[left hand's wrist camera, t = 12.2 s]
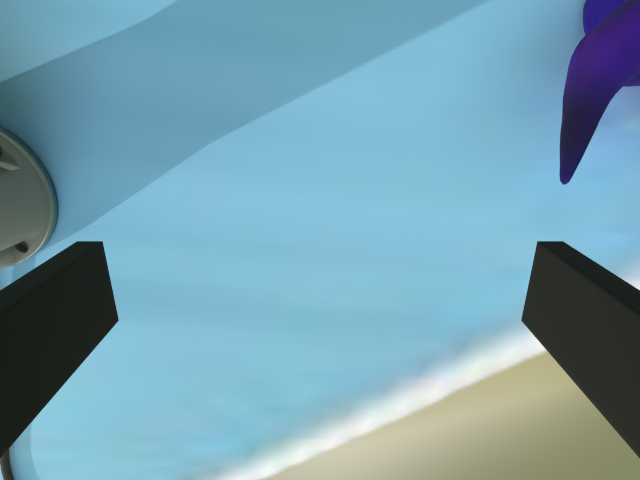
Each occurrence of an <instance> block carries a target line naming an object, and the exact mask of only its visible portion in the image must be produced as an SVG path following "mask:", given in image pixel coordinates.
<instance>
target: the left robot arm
mask: <svg viewBox="0 0 640 480" xmlns="http://www.w3.org/2000/svg"><path fill="white" fill-rule="evenodd" d="M57 211H58V208H57V199H56V194H55V190H54V187H53V184H52V182H51V179H50V177H49V175H48V173H47V171H46V170H45V168H44V166H43V165H42V163H41V162H40V160H39V159H38V158H37V157H36V155H35V154H34V153H33V152H32V151H31V150H30V149H29V148H28V147H27V146H26V145H25V144H24V143H23V142H22V141H21V140H20V139H18V138H17V137H16V136H14V135H13V134H12V133H10V132H8V131H7V130H5V129H4V128H2V127H0V269H3V268H7V267H9V266H12V265H15V264H18V263H20V262H22V261H24V260H26V259H28V258H29V257H31V256H33V255H34V254H36V253H37V252H38V251H40V250H41V249H42V248H43V247H44V246H45V245H46V244H47V242H48V241H49V239H50V238H51V236H52V234H53V232H54V229H55V226H56V222H57ZM118 321H119V320H118V315H117V310H116V305H115V300H114V295H113V291H112V286H111V281H110V276H109V271H108V266H107V261H106V256H105V252H104V247H103V242H102V241H77V242H75V243H74V244H72V245H71V246H69V247H68V248H66V249H65V250H63V251H61V252H60V253H58V254H57V255H55V256H54V257H52V258H50V259H49V260H47V261H46V262H44V263H43V264H41V265H40V266H38V267H36V268H35V269H33V270H32V271H30V272H29V273H27V274H25V275H24V276H22V277H21V278H19V279H18V280H16V281H15V282H13V283H11V284H10V285H8V286H7V287H5V288H4V289H2V290H0V465H1V471H2V475H3V479H4V480H14V479H13V475H12V471H11V467H10V462H9V447H10V446H11V445H12V444H13V443H14V442H15V440H16V439H17V438H18V437H19V436H20V435H21V433H22V432H23V431H24V430H25V429H26V428H27V426H28V425H29V424H30V423H31V422H32V421H33V420H34V418H35V417H36V416H37V415H38V414H39V413H40V411H41V410H42V409H43V408H44V407H45V406H46V404H47V403H48V402H49V401H50V400H51V399H52V397H53V396H54V395H55V394H56V393H57V392H58V390H59V389H60V388H61V387H62V386H63V385H64V383H65V382H66V381H67V380H68V379H69V378H70V376H71V375H72V374H73V373H74V372H75V371H76V369H77V368H78V367H79V366H80V365H81V364H82V362H83V361H84V360H85V359H86V358H87V357H88V356H89V354H90V353H91V352H92V351H93V350H94V349H95V347H96V346H97V345H98V344H99V343H100V342H101V340H102V339H103V338H104V337H105V336H106V335H107V333H108V332H109V331H110V330H111V329H112V328H113V326H114V325H115V324H116V323H117V322H118ZM521 321H522V322H523V323H524V324H525V325H526V326H527V328H528V329H529V330H530V331H531V332H532V333H533V335H534V336H535V337H536V338H537V339H538V340H539V342H540V343H541V344H542V345H543V346H544V347H545V349H546V350H547V351H548V352H549V353H550V354H551V356H552V357H553V358H554V359H555V360H556V361H557V362H558V364H559V365H560V366H561V367H562V368H563V369H564V371H565V372H566V373H567V374H568V375H569V376H570V378H571V379H572V380H573V381H574V382H575V383H576V385H577V386H578V387H579V388H580V389H581V390H582V392H583V393H584V394H585V395H586V396H587V397H588V399H589V400H590V401H591V402H592V403H593V404H594V405H595V407H596V408H597V409H598V410H599V411H600V412H601V414H602V415H603V416H604V417H605V418H606V420H607V421H608V422H609V423H610V424H611V425H612V426H613V428H614V429H615V430H616V431H617V432H618V433H619V435H620V436H621V437H622V438H623V439H624V440H625V442H626V443H627V444H628V445H629V446H630V447H631V449H632V450H633V451H634V452H635V453H636V454H637V456H638V457H639V458H640V290H638V289H636V288H635V287H633V286H632V285H630V284H629V283H627V282H625V281H624V280H622V279H621V278H619V277H618V276H616V275H615V274H613V273H611V272H610V271H608V270H607V269H605V268H604V267H602V266H600V265H599V264H597V263H596V262H594V261H593V260H591V259H590V258H588V257H586V256H585V255H583V254H582V253H580V252H579V251H577V250H575V249H574V248H572V247H571V246H569V245H568V244H566V243H565V242H563V241H538V242H537V247H536V252H535V256H534V261H533V266H532V271H531V276H530V281H529V286H528V291H527V295H526V300H525V305H524V310H523V315H522V320H521Z"/></svg>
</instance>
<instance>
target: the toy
mask: <svg viewBox="0 0 640 480" xmlns="http://www.w3.org/2000/svg"><path fill="white" fill-rule="evenodd" d="M583 25H584V31H585V35H586V36H585V37H584V38H583V39H582V40H581V41H580V43H579V44H578V46H577V47H576V49H575V51H574V53H573V55H572V57H571V60H570V64H569V68H568V73H567V79H566V84H565V90H564V95H563V115H562V126H561V134H560V181H561V182H562V184H567V183H568V182H569V181H570V179H571V178H572V176H573V174H574V172H575V170H576V168H577V166H578V164H579V162H580V161H581V159H582V157H583V155H584V153H585V151H586V148H587V146H588V144H589V142H590V140H591V138H592V136H593V134H594V132H595V130H596V128H597V125H598V123H599V121H600V119H601V117H602V115H603V113H604V111H605V109H606V108H607V106H608V104H609V102H610V101H611V99H612V98H613V97H614V95H615V94H616V93H617V92H618V91H619V90H620V89H621V88H622V87H623V86H640V0H587V1H586V2H585V5H584V11H583Z"/></svg>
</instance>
